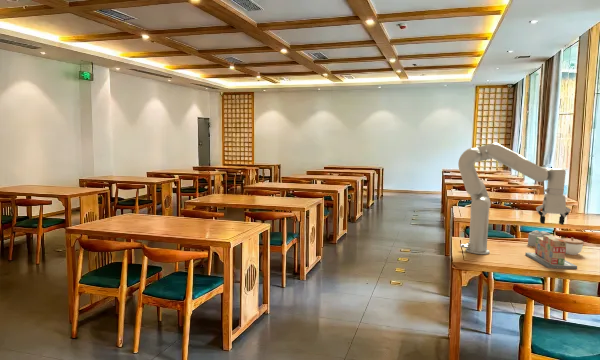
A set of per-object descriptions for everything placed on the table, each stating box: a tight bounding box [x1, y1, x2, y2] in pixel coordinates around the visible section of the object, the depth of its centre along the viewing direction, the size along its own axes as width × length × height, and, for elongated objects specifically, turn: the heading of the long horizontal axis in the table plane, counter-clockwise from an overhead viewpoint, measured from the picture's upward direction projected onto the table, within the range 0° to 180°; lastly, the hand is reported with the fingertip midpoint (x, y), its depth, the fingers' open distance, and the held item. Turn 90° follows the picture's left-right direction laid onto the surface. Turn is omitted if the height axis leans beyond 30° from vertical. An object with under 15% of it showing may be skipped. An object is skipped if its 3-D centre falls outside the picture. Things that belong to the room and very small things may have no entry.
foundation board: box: [524, 252, 578, 270], centre depth 221 cm, size 14×24×2 cm, turn 177°
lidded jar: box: [562, 237, 584, 256], centre depth 238 cm, size 11×11×9 cm
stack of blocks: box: [534, 235, 567, 265], centre depth 221 cm, size 21×6×12 cm, turn 171°
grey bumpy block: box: [527, 229, 554, 248], centre depth 257 cm, size 10×13×9 cm
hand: (551, 223), depth 219 cm, fingers open, 9 cm apart
